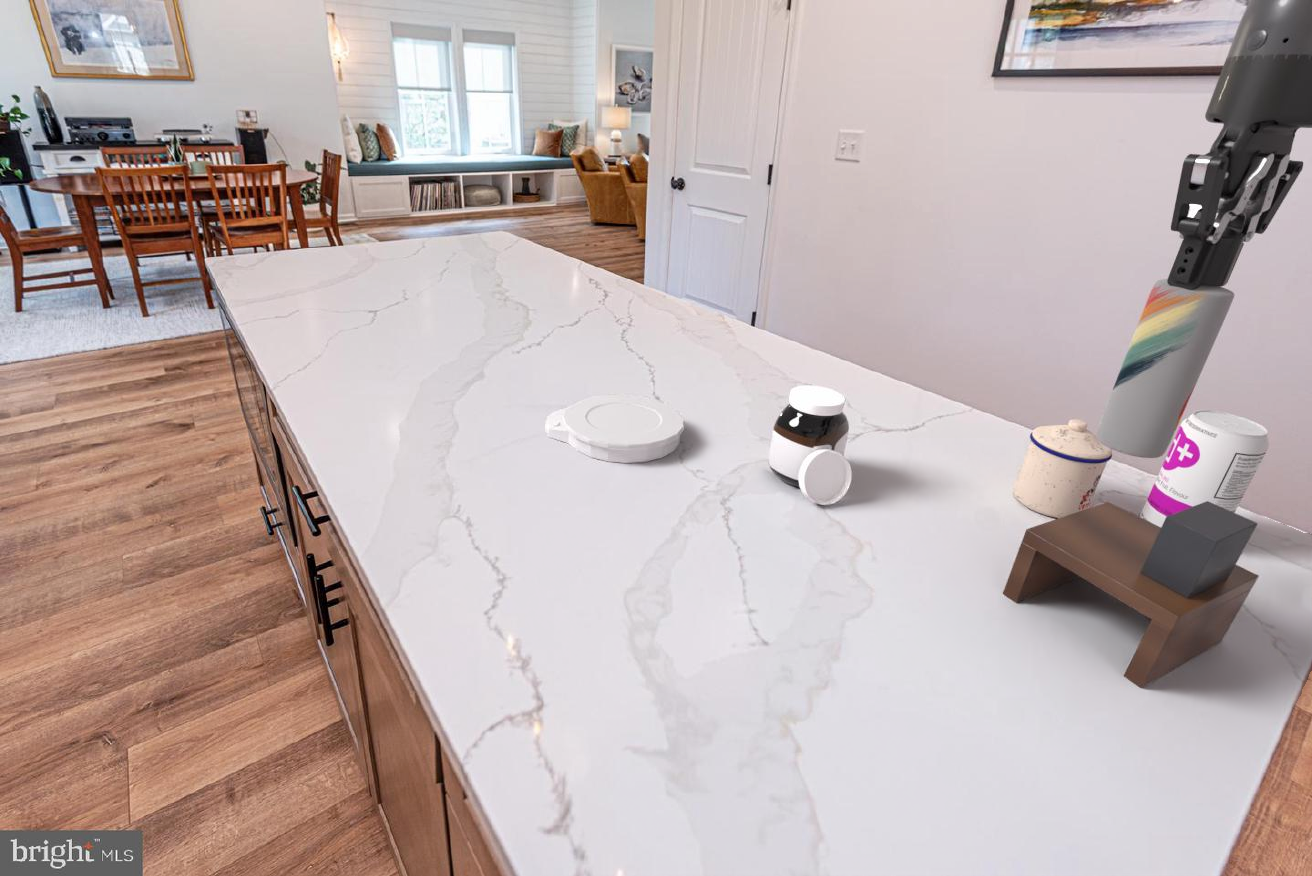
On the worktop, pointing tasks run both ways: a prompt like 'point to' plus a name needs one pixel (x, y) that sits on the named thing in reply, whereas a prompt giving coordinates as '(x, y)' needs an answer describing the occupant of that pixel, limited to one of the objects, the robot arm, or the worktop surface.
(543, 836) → the worktop surface
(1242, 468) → the supplement can
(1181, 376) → the lotion bottle
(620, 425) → the lid
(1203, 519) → the charcoal block
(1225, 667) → the worktop surface
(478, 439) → the worktop surface
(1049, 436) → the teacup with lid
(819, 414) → the spread jar
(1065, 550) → the riser
